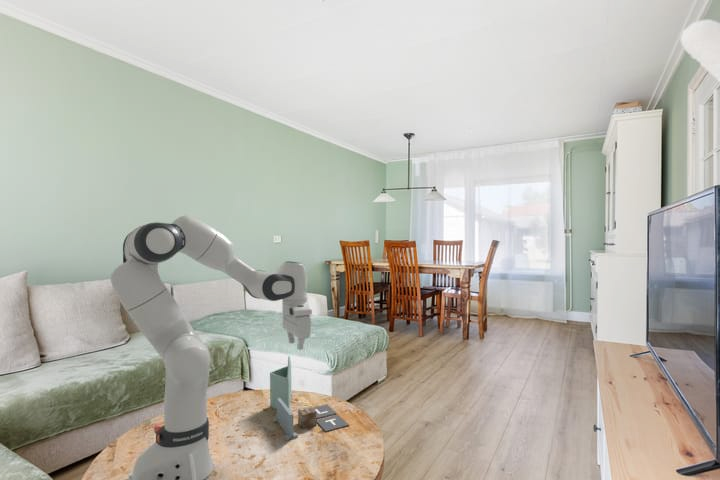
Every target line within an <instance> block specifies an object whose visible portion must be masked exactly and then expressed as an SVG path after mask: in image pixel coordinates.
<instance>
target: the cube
mask: <svg viewBox="0 0 720 480" xmlns="http://www.w3.org/2000/svg"><path fill="white" fill-rule="evenodd" d="M297 415H298V416H297V419H298V420H297V421H298V425H299V424H300V425H299V426H300V427H301V428H302V430H305V429H309V428H311V427H312V428H313V427H316V426H317V422H316V420H317V419H316V411H315V410H314V409H313V407H312V406H308V407H303V408H299V409H297Z"/></svg>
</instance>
